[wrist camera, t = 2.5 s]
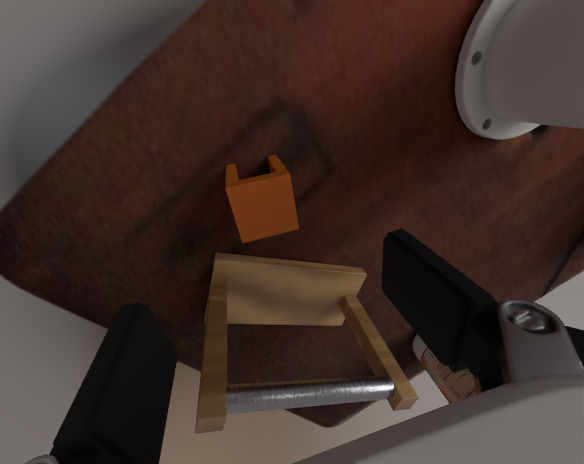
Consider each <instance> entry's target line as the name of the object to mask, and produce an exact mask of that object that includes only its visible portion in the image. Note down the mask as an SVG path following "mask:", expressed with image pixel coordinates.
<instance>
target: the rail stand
mask: <svg viewBox="0 0 584 464" xmlns="http://www.w3.org/2000/svg"><path fill="white" fill-rule="evenodd" d="M366 276H367V274H366V272H365V271H364V270H363V268H358V267H349V266H339V265H330V264H321V263H311V262H302V261H293V260H283V259H274V258H265V257H255V256H246V255H237V254H227V253H218V252H216V253H215V258H214V264H213V270H212V276H211V282H210V288H209V294H208V300H207V306H206V312H205V320H204V323H206V327H205V337H204V347H203V357H202V367H201V378H200V388H199V398H198V408H197V418H196V429H195V433H204V432H212V431H221V430H223V427H224V424H225V420H226V417H227V414H234V413H245V412H255V411H266V410H276V409H287V408H297V407H308V406H318V405H329V404H339V403H350V402H360V401H371V400H382V399H388V401H389V403H390V405H391V407H392V409H393V411H396V410H405V409H410V407H411V406H412V405H413V404H414V403H415V401H416V400H417V399H418V398H419V397H418V396H417V394H416V392H415V391H414V389H413V388H412V386H411V384H410V383H409V381H408V379H407V378H406V376H405V375H404V373H403V371H402V370H401V368H400V366H399V365H398V363H397V362H396V360H395V358H394V357H393V355H392V354H391V352H390V350H389V349H388V347H387V346H386V344H385V342H384V341H383V339H382V337H381V336H380V334H379V333H378V331H377V329H376V328H375V326H374V325H373V323H372V321H371V320H370V318H369V317H368V315H367V313H366V312H365V310H364V308H363V307H362V305H361V304H360V302H359V300H358V299H357V297H356V295H357V293H358V291H359V289H360V287H361V285H362V283H363V281H364V280H365V278H366ZM345 318H346V320H347V322H348V324H349V326H350V328H351V330H352V332H353V334H354V335H355V337H356V339H357V341H358V343H359V345H360V347H361V349H362V351H363V353H364V355H365V357H366V359H367V361H368V363H369V365H370V366H371V368H372V370H373V372H374V374H375V376H364V377H347V378H329V379H312V380H295V381H277V382H260V383H242V384H227V324H275V325H328V326H341V325H342V323H343V321H344V319H345Z"/></svg>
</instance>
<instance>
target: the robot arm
mask: <svg viewBox="0 0 584 464" xmlns="http://www.w3.org/2000/svg"><path fill="white" fill-rule="evenodd" d="M455 97H456V105H457V108H458V111H459V114H460V117H461V119H462V120H463V122H464V124H465V125H466V127H467V128H469V129H470V130H471V131H472V132H473V133H475V134H477V135H479V136H482V137H486V138H491V139H509V138H514V137H518V136H520V135H522V134H525V133H527V132H529V131H531V130H533V129H534V128H536V127H538V126H539V125H541V124H543V125H553V126H562V127H572V128H581V129H584V0H484V1H483V3H482V5H481V6H480V8H479V10H478V11H477V13H476V15H475V16H474V19H473V21H472V23H471V25H470V27H469V29H468V32H467V34H466V36H465V39H464V42H463V45H462V48H461V51H460V54H459V59H458V64H457V69H456V75H455ZM382 289H383V291H384V293H385V295H386V296H387V297H388V298H389V300H390V301H391V302H392V303H393V305H394V306H395V307H396V308H397V310H398V311H399V312H400V313H401V315H402V316H403V317H404V318H405V320H406V321H407V322H408V323H409V325H410V326H411V327H412V328H413V330H414V331H415V332H416V333H417V335H418V336H419V337H420V338H421V339H422V341H423V342H424V343H425V344H426V346H427V347H428V348H429V349H430V351H431V352H432V353H433V354H434V356H435V357H436V358H437V359H438V361H439V362H440V363H441V364H442V365H444V366H448V367H449V368H450V370H451V371H452V372H453V373H457V372H460V371H462V370H465V369H468V370H469V371H470V372H471V374H472V375H473V376H474V381H475V391H476V395H473V396H470V397H468V398H465V399H462V400H459V401H456V402H453V403H451V404H448V405H446V406H443V407H440V408H438V409H435V410H432V411H430V412H427V413H424V414H422V415H419V416H416V417H414V418H411V419H409V420H406V421H403V422H400V423H398V424H395V425H393V426H390V427H387V428H385V429H382V430H379V431H377V432H374V433H372V434H369V435H367V436H364V437H361V438H358V439H356V440H353V441H351V442H348V443H345V444H343V445H340V446H337V447H335V448H332V449H330V450H327V451H324V452H322V453H320V454H317V455H314V456H311V457H309V458H307V459H304V460H301V461H298V462H296V463H293V464H584V330H579V329H576V328H572V327H568V326H564V324H563V322H562V321H561V320H560V318H559V317H558V316H557V315H556V314H554V313H553V312H552V311H550V310H549V309H547V308H545V307H544V306H542V305H539V304H537V303H534V302H532V301H528V300H524V299H515V298H513V299H506V300H504V301H501V302H500V304H499V303H498V302H496V301H495V300H494V297H493V296H492V295H490V294H489V293H488V292H486V291H485V290H484V289H482V288H481V287H480V286H479V285H477V284H476V283H475V282H473V281H472V280H471V279H469V278H468V277H467V276H465V275H464V274H463V273H461V272H460V271H459V270H457V269H456V268H455V267H453V266H452V265H451V264H449V263H448V262H447V261H445V260H444V259H443V258H441V257H440V256H439V255H437V254H436V253H435V252H433V251H432V250H431V249H429V248H428V247H427V246H425V245H424V244H423V243H421V242H420V241H419V240H417V239H416V238H415V237H413V236H412V235H411V234H410V233H408V232H407V231H406V230H404V229H399V230H396V231H392V232H389V233H388V234H387V237H385V238H384V244H383V268H382ZM176 363H177V351H176V348H175V347H174V345H173V344H172V342H171V341H170V339H169V338H168V336H167V335H166V333H165V332H164V330H163V329H162V327H161V326H160V324H159V323H158V321H157V320H156V318H155V316H154V315H153V313H152V312H151V310H150V309H149V307H148V306H147V305H142V304H141V303H139V302H137V303H133V304H129V305H126V306H122V307H120V308H119V309H118V311H117V313H116V315H115V317H114V319H113V321H112V323H111V325H110V327H109V329H108V331H107V333H106V336H105V337H104V339H103V341H102V344H101V346H100V348H99V350H98V352H97V354H96V356H95V358H94V360H93V362H92V364H91V366H90V368H89V370H88V372H87V375H86V376H85V378H84V380H83V382H82V385H81V387H80V389H79V391H78V393H77V395H76V397H75V399H74V401H73V403H72V405H71V407H70V409H69V411H68V413H67V415H66V417H65V420H64V421H63V424H62V425H61V427H60V429H59V432H58V434H57V436H56V438H55V440H54V442H53V445H54V446H53V448H52V450H51V452H50V454H49V455H43V456H39V457H36V458H34V459H32V460H30V461H28V462H26V463H25V464H159V459H160V454H161V448H162V443H163V437H164V431H165V425H166V420H167V414H168V408H169V402H170V396H171V391H172V385H173V380H174V374H175V368H176Z"/></svg>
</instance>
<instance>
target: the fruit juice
mask: <svg viewBox="0 0 584 464" xmlns="http://www.w3.org/2000/svg"><path fill="white" fill-rule="evenodd" d="M412 347H413V351H414V353H415V355H416V357H417V358H418V360H419V361H420V362H421V364H422V365H423V367H424V368H425V370H426V371H427V372H428V374H429V375H430V377H431V378H432V379H433V381H434V382H435V384H436V385H437V386H438V388H439V389H440V391H441V392H442V393H443V395H444V396H445V398H446V399H447V400H448V402H449V403H450V404H451V403H453V402H456V401H459V400H462V399H465V398H468V397H470V396H473V395H476V391H475V381H474V376H473V375H472V374H471V372H470V371H469V370H468V369H465V370H462V371H460V372H457V373H453V372H452V371H451V370H450V368H449V367H448V366H444V365H442V364H441V363H440V362H439V361H438V359H437V358H436V357H435V356H434V354H433V353H432V352H431V351H430V349H429V348H428V347H427V346H426V344H425V343H424V342H423V341H422V339H421V338H420V337H419V336H418V335H416V336H415V338H414V340H413V344H412Z"/></svg>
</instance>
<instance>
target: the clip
mask: <svg viewBox="0 0 584 464" xmlns="http://www.w3.org/2000/svg"><path fill="white" fill-rule="evenodd" d="M268 162H269V167H270V172H271V173H270V174H265V175H261V176H256V177H252V178H247V179H243V180H239V177H238V173H237V169H236V166H235V164H229V165H226V185H225V189H226V193H227V196H228V199H229V202H230V205H231V209H232V212H233V215H234V218H235V221H236V225H237V228H238V231H239V234H240V237H241V241H242V243H245V242H249V241H253V240H257V239H261V238H265V237H269V236H273V235H277V234H281V233H285V232H289V231H293V230H297V229H299V225H298V219H297V213H296V207H295V201H294V195H293V188H292V182H291V176H290V173H289V172H288V171H287V169H286V168H285V167H284V165H283V164H282V163H281V161H280V160H279V159H278V157H277V156H276V155H271V156H268Z"/></svg>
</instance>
